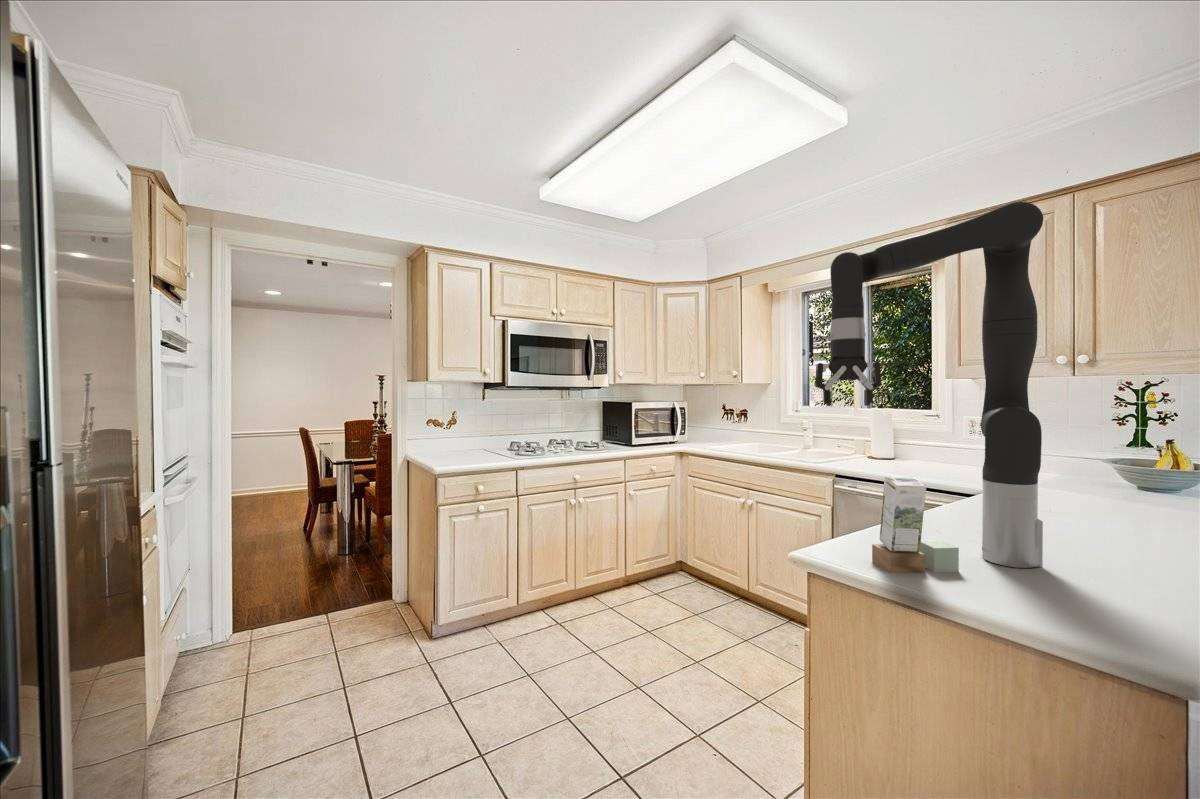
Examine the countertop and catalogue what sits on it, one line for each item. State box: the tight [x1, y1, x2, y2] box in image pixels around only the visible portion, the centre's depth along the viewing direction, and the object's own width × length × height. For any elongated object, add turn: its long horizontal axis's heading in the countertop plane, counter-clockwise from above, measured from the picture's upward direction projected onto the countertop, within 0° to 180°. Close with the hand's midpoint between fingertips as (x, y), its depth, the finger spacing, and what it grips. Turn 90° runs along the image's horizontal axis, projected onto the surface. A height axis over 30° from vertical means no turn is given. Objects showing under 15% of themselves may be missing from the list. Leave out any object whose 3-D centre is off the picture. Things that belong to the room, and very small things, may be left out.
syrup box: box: [879, 476, 927, 552], centre depth 106 cm, size 6×6×14 cm
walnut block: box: [871, 543, 926, 574], centre depth 107 cm, size 7×7×4 cm
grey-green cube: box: [920, 540, 960, 573], centre depth 106 cm, size 5×5×5 cm
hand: (847, 405), depth 123 cm, fingers open, 8 cm apart
